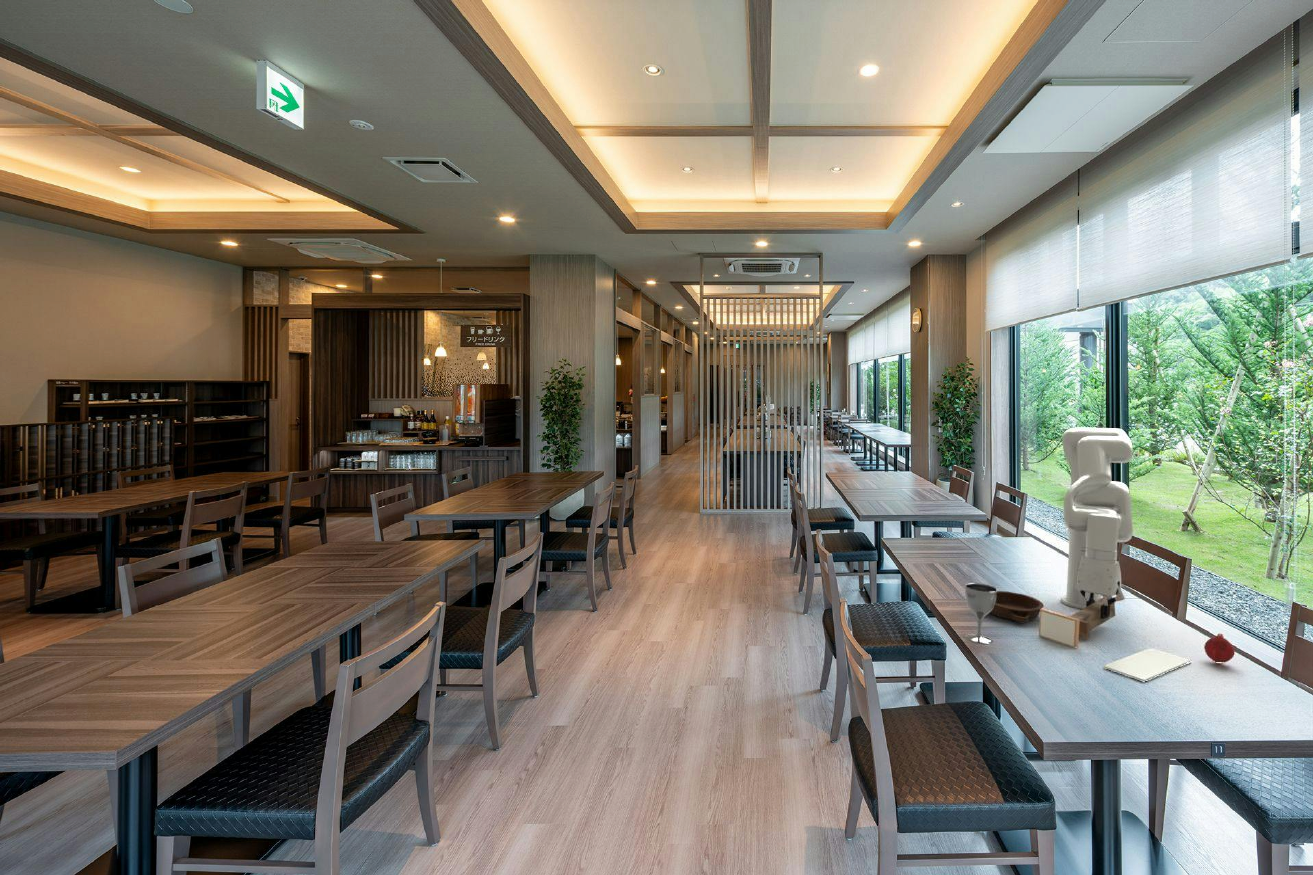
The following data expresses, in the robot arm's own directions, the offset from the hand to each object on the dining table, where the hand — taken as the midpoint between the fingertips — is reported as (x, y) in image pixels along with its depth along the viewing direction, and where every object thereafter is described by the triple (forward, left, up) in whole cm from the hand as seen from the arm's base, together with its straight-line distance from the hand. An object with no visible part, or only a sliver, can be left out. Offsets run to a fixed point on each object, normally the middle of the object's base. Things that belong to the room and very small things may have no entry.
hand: (1097, 615), depth 186 cm
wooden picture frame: (+20, 0, -4) cm, 20 cm away
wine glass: (+38, -12, -5) cm, 40 cm away
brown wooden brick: (+2, 0, -2) cm, 3 cm away
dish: (+10, -20, -5) cm, 23 cm away
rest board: (+16, +20, -4) cm, 26 cm away
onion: (-2, +28, -5) cm, 28 cm away
